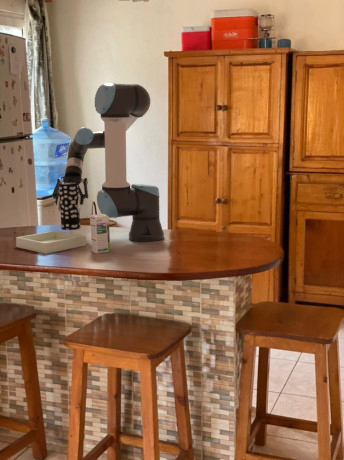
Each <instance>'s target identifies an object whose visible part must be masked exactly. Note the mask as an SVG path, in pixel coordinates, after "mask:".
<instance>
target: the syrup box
mask: <svg viewBox="0 0 344 460" xmlns="http://www.w3.org/2000/svg"><path fill="white" fill-rule="evenodd" d="M89 220H90V221H89V222H90V236H91V237H90V239H91V240H90V241H91V243H90V244H91V251H92V252H93V253H95V254H104V253H111V237H110V236H111V235H110V234H111V233H110V218H109V216H108V215H106V214H91V215H89Z"/></svg>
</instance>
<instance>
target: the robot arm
mask: <svg viewBox="0 0 344 460" xmlns="http://www.w3.org/2000/svg"><path fill="white" fill-rule="evenodd" d="M150 106H151V96H150V94H149V91H147V89H146V88H145V87H144V86H142V85H140V84H138V83H115V82H110V83H104V84H103V83H102V84H101V85H99V86H98V88H97V90H96V92H95V95H94V108H95V112H96V113H98V114H99V115H100V119H101V120H102V121H103V123H104V130H103V131H93V130H92V129H91V128H87V127H85V126H84V127H83V126H82V127H80V128H79V129H78V130H77V131H76V133H75V134H74V138H73V141H71V142H70V143H69V146H68V148H67V150H68V151H67V158H66V163H65V170H64V177H63V178H62V179H61V178H56V185H55V186H54V190H53V192H52V194H51V196H52V198H53V200H55V205H56V211H57V213H60V195H59V183H69V182H75V183H78V189H79V198H78V206H77V209H78V212H81V207H82V206H83V205H84V202H85V201H84V200H85V199H89V193H88V192H89V191H88V183H89V180H88V178H87V177H85V178H82V175H83V170H84V167H83V166H84V159H85V155H86V153H87V151H88V150H89V149H91V150H92V149H104V161H105V162H104V164H105V167H104V169H105V170H104V171H105V181H104V183H102V184H101V189H100V190H98V191H97V195H96V203H97V207H98V209H99V212H100V213H101V214H106V215H108V216H109V219H113V218H114V219H117V218H122V217H124V218H125V217H132V218H131V219H132V221H131V225H130V230H129V232H128V239H129V240H131V241H134V242H155V241H160V240H161V241H162V240H163V239H164V238H165V232H164V230H163V227H162V223H161V220H160V219H161V218H160V216H161V215H160V197H161V196H160V192H159V191H160V190H159V187H157V186H155V185H150V184H144V183H143V184H142V183H132V184H130V183H129V182H128V181H127V131H129V129H130V127H131V126H132V125H134V123H135V122H136V121H137V119H139V118H142V117H144V116H145V115H146V113H147V112H148V111H149V109H150ZM80 184H83V189H84V190H83V191H84V193H83V192H82V188H81V187H80Z"/></svg>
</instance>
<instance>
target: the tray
mask: <svg viewBox="0 0 344 460" xmlns="http://www.w3.org/2000/svg"><path fill="white" fill-rule="evenodd" d="M15 242H16V248H19V249H23V250H24V249H25V250H29V251H33V252H35V253H36V252H37V253H41V254H45V255H47V254H50V253H51V254H52V253H56V252H60V251H66V250H71V249H74V248H81V247H84V246H87V237H86V235H83V234H78V233H73V232H67V231H62V230H50V231H44V232H39V233H34V234H28V235H21V236H17V237H16V236H15Z"/></svg>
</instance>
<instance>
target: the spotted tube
mask: <svg viewBox="0 0 344 460" xmlns="http://www.w3.org/2000/svg"><path fill="white" fill-rule="evenodd" d="M59 195H60V212H59V213H60V227H61V231H62V230H63V231H74V230H75V231H77V230H80V229H81V216H80V215H81V213H80V212H81V211H80V212H78V209H77V206H78V198H79V196H80V194H79V189H78V183H75V182H69V183H64V182H63V183H59Z"/></svg>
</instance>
